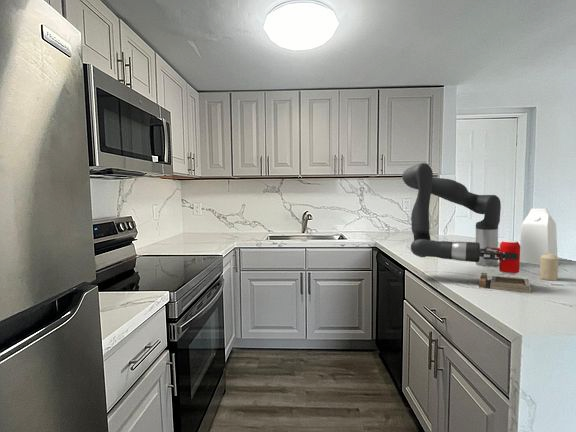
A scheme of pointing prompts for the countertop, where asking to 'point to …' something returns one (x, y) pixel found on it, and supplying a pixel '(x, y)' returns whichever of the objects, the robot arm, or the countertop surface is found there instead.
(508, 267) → the beverage can
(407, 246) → the hinge
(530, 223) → the milk
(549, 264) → the candle
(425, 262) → the countertop surface
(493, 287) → the tray
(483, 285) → the sill
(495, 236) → the robot arm
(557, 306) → the countertop surface
